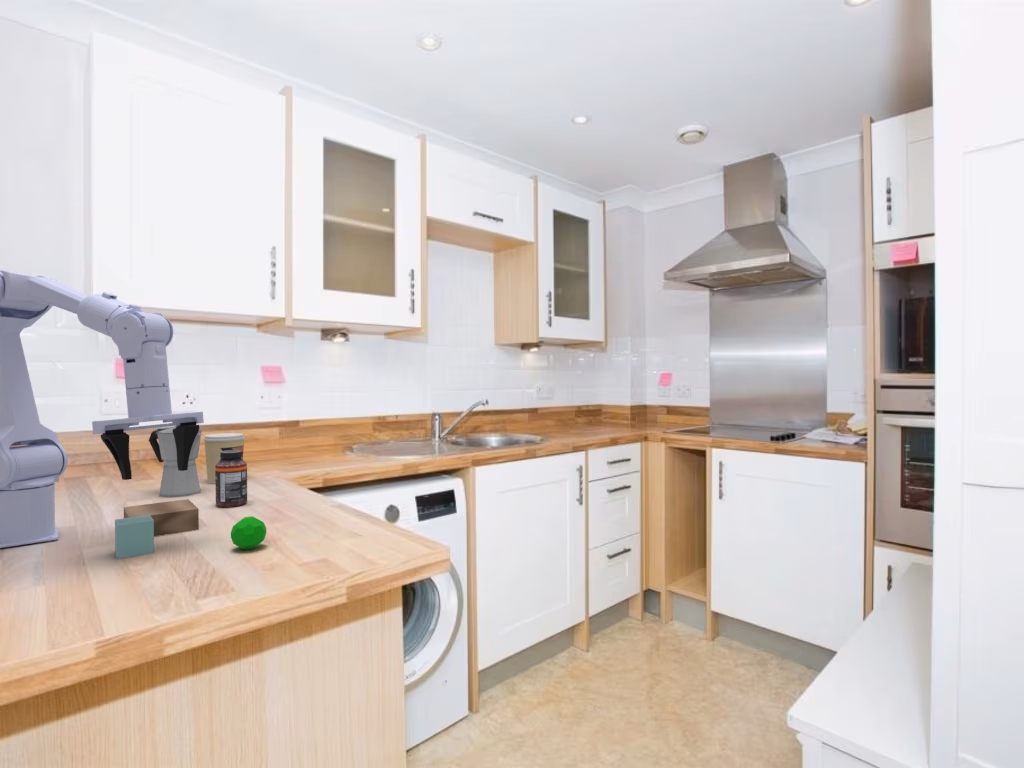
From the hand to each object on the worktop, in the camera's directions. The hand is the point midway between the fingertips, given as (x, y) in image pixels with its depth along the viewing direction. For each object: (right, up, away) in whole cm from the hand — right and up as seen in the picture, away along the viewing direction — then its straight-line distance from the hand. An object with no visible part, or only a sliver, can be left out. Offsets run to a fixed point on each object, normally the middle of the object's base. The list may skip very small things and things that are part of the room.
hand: (155, 474), depth 85 cm
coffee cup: (-18, -11, +56) cm, 60 cm away
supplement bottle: (-3, -11, +29) cm, 32 cm away
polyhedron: (+15, -12, 0) cm, 19 cm away
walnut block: (-6, -12, +11) cm, 17 cm away
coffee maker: (-22, -11, +41) cm, 48 cm away
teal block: (-2, -12, -2) cm, 12 cm away
